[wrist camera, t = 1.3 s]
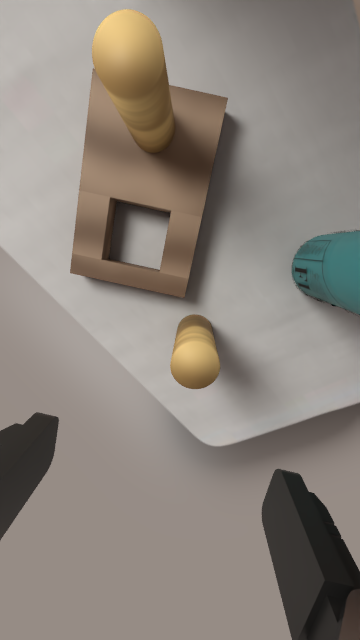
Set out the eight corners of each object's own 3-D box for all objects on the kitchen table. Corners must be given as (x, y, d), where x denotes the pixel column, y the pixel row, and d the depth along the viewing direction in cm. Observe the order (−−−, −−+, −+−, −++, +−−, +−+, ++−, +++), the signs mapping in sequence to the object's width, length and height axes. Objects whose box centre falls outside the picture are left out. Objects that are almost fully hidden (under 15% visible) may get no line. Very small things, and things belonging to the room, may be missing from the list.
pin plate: (101, 84, 27) (26, -50, 15) (224, 111, 27) (249, 0, 15) (79, 271, 31) (7, 285, 19) (185, 294, 32) (179, 322, 19)
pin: (181, 311, 32) (175, 338, 22) (215, 318, 32) (225, 348, 22) (174, 343, 33) (166, 383, 23) (207, 351, 33) (213, 393, 23)
